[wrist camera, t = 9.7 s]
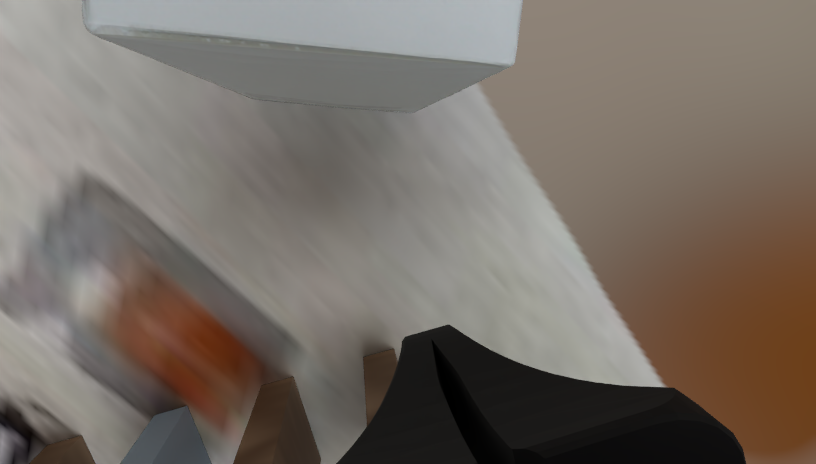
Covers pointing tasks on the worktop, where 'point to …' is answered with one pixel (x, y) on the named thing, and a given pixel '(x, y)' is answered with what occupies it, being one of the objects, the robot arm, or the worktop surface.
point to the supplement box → (321, 45)
